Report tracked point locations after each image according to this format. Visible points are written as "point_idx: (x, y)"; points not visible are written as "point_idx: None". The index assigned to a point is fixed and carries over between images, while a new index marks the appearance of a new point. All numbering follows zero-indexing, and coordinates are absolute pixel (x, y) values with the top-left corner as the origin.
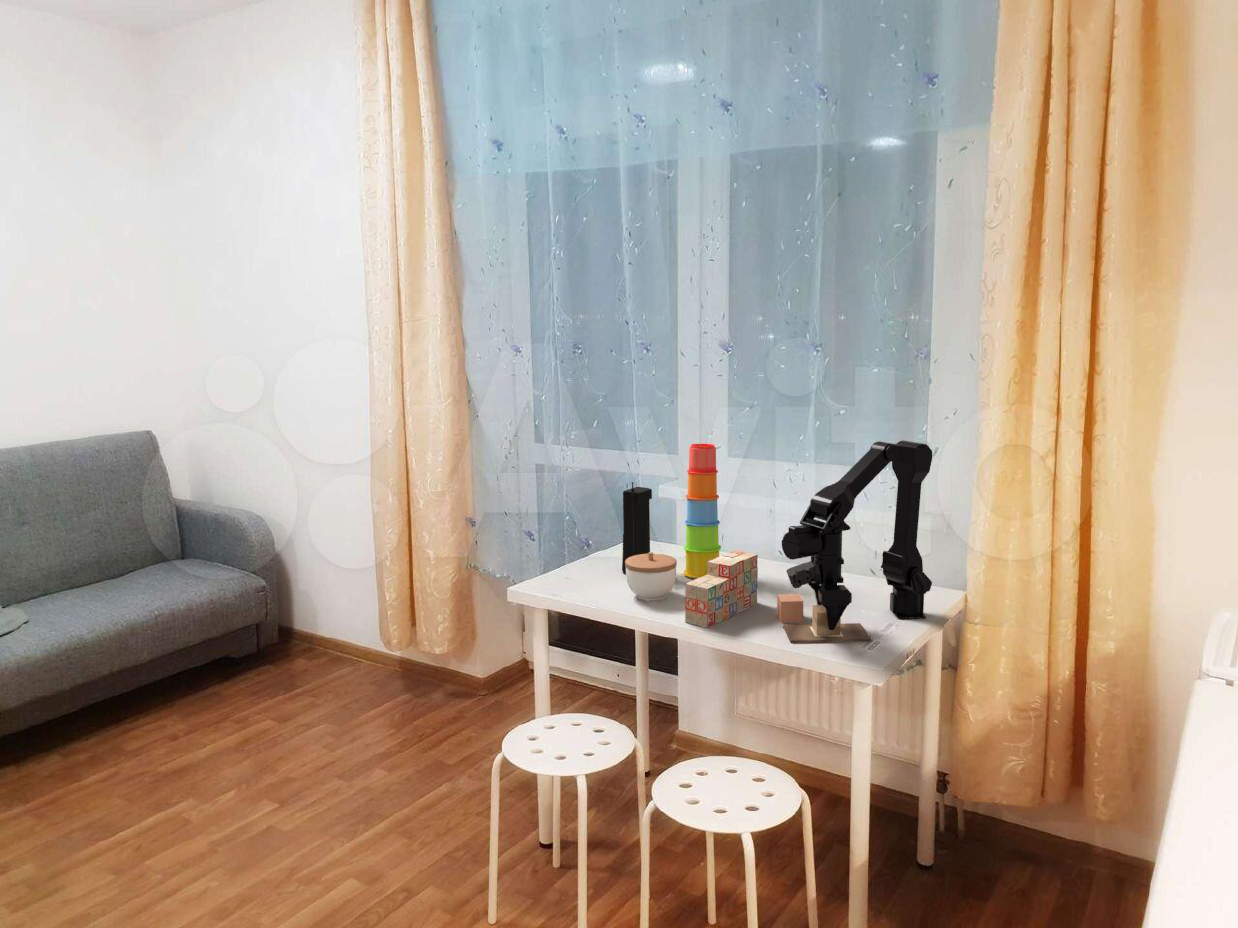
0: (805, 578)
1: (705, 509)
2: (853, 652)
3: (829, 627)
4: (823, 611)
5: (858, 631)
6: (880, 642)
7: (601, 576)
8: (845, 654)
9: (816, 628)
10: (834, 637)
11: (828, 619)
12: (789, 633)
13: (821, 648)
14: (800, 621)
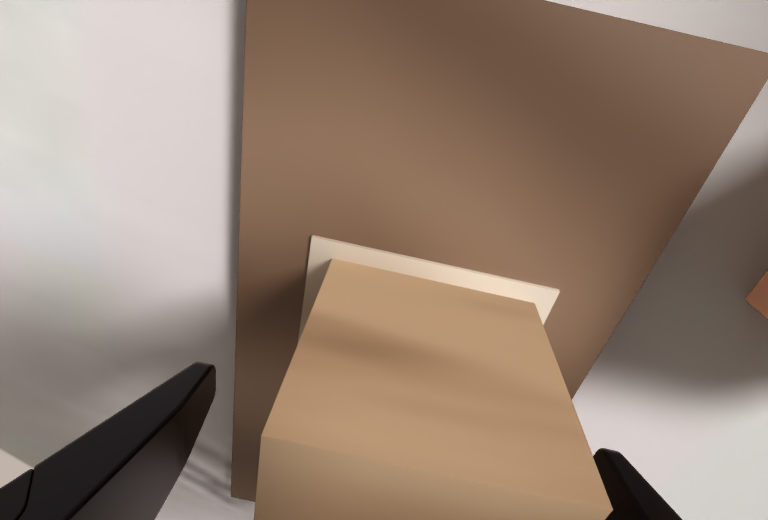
0: None
1: None
2: (66, 348)
3: (175, 379)
4: (308, 508)
5: None
6: (225, 503)
7: None
8: (21, 295)
9: (336, 293)
10: (278, 353)
11: (77, 444)
12: (466, 13)
13: (120, 190)
14: (763, 283)
